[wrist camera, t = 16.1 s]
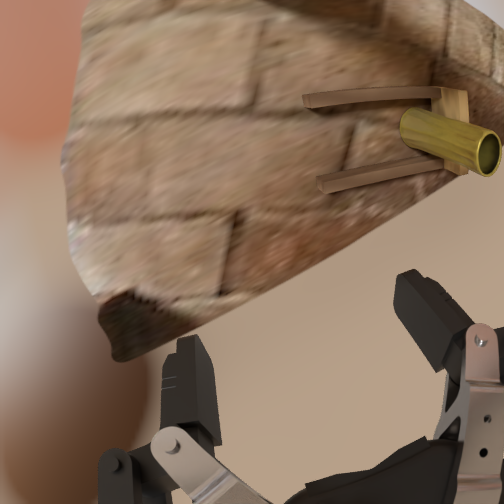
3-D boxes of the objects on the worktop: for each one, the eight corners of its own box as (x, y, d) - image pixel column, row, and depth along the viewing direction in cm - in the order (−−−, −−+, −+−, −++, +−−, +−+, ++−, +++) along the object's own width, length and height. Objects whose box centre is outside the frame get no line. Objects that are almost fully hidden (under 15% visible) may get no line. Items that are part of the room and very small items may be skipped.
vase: (435, 119, 33) (508, 143, 21) (421, 154, 36) (492, 189, 23) (407, 99, 31) (485, 116, 19) (392, 137, 34) (467, 167, 22)
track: (301, 95, 30) (321, 96, 25) (438, 86, 30) (467, 90, 25) (317, 187, 36) (336, 204, 31) (442, 161, 37) (468, 173, 32)
